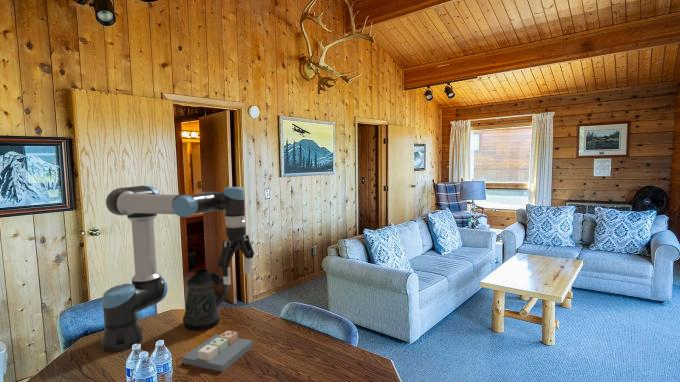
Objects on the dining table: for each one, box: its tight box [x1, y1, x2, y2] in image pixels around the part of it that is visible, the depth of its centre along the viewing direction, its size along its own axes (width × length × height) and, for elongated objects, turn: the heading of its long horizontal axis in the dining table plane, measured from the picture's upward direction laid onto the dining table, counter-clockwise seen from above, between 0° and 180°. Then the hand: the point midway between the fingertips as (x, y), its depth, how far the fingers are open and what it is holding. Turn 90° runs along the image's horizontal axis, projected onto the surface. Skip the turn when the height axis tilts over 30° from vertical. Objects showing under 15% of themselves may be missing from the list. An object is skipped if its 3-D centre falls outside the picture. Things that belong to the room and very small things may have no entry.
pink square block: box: [219, 330, 239, 346], centre depth 148 cm, size 5×5×4 cm
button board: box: [181, 333, 254, 373], centre depth 143 cm, size 18×19×2 cm
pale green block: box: [209, 337, 228, 353], centre depth 143 cm, size 5×5×4 cm
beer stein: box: [182, 269, 229, 332], centre depth 171 cm, size 16×19×25 cm
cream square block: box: [198, 345, 218, 362], centre depth 137 cm, size 5×5×4 cm
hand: (238, 278), depth 147 cm, fingers open, 13 cm apart
